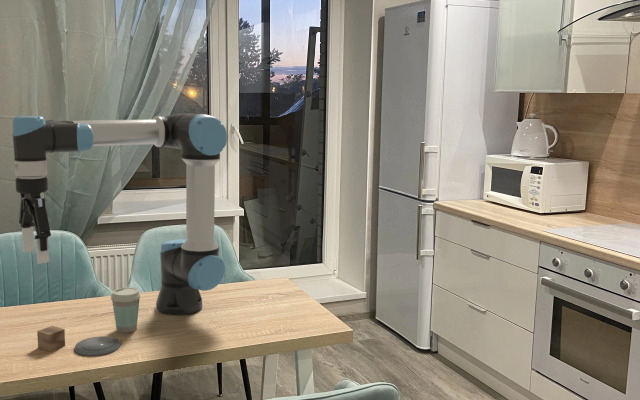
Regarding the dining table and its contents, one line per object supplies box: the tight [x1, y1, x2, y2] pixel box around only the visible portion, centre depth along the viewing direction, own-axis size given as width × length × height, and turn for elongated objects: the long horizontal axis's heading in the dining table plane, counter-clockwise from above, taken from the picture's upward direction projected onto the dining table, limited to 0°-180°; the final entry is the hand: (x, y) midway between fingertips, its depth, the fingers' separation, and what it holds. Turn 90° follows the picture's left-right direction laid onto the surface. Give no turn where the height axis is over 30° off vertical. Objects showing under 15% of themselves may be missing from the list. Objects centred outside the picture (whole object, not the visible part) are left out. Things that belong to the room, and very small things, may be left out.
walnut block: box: [36, 325, 66, 353], centre depth 177 cm, size 5×5×5 cm
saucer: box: [74, 335, 121, 357], centre depth 178 cm, size 12×12×1 cm
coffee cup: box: [110, 287, 142, 334], centre depth 191 cm, size 9×8×12 cm
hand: (35, 257), depth 166 cm, fingers open, 13 cm apart
